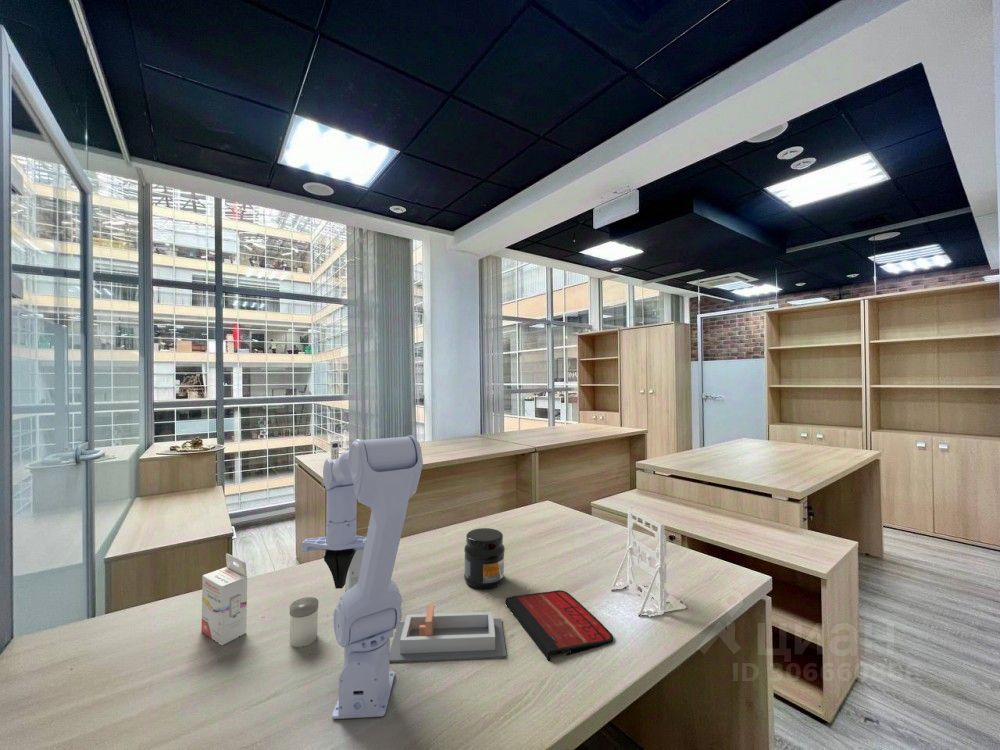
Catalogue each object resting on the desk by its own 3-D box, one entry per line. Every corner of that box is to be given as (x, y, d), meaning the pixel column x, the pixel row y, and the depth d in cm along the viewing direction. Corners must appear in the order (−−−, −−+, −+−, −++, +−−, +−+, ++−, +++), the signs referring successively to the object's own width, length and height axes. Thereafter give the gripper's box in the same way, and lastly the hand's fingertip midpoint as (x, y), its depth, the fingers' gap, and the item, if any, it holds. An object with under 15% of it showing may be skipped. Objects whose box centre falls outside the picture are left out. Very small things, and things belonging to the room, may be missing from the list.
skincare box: (348, 597, 98) (349, 546, 98) (344, 589, 101) (345, 540, 102) (374, 590, 101) (375, 541, 101) (369, 582, 105) (370, 535, 105)
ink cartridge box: (199, 632, 84) (200, 560, 84) (225, 620, 88) (227, 551, 88) (220, 647, 79) (222, 570, 80) (247, 633, 84) (249, 561, 84)
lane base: (506, 657, 77) (506, 642, 77) (387, 662, 75) (387, 646, 75) (501, 620, 89) (501, 606, 89) (398, 623, 87) (398, 610, 87)
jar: (312, 647, 80) (312, 610, 80) (284, 648, 79) (285, 611, 79) (321, 630, 85) (322, 596, 85) (295, 631, 84) (296, 597, 84)
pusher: (431, 647, 79) (431, 621, 79) (417, 648, 79) (417, 621, 79) (433, 628, 85) (434, 604, 85) (421, 629, 85) (421, 604, 85)
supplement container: (511, 585, 104) (511, 538, 104) (472, 594, 100) (473, 545, 100) (494, 568, 114) (494, 525, 114) (458, 575, 109) (458, 530, 109)
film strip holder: (693, 610, 94) (693, 522, 94) (641, 619, 90) (641, 528, 90) (653, 580, 108) (653, 504, 108) (606, 587, 104) (606, 508, 104)
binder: (548, 651, 76) (504, 596, 96) (547, 664, 76) (504, 606, 96) (618, 635, 82) (564, 586, 102) (618, 647, 82) (563, 596, 102)
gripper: (382, 511, 87) (381, 575, 87) (312, 511, 86) (311, 576, 86) (374, 523, 80) (373, 593, 80) (297, 523, 79) (296, 594, 79)
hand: (340, 586), depth 82 cm, fingers closed
